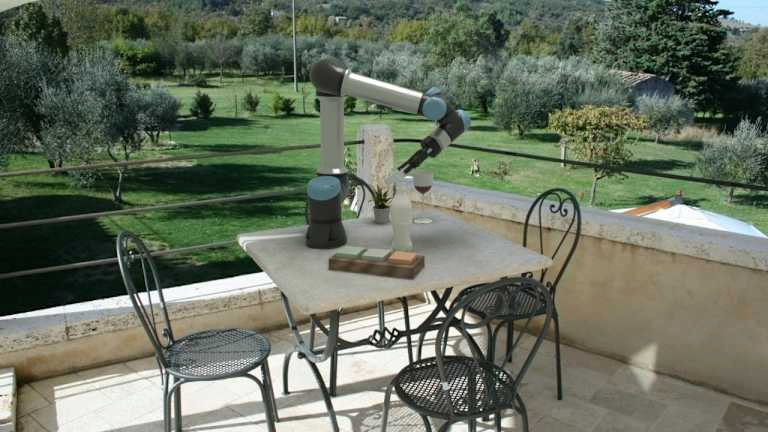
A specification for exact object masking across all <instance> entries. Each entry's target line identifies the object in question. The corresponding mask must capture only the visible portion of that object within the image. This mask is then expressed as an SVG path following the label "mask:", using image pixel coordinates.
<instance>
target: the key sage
mask: <svg viewBox="0 0 768 432" xmlns="http://www.w3.org/2000/svg"><path fill="white" fill-rule="evenodd" d="M365 250H366V248H365V247H361V246H350V245H343V247H342V248H339V250H337V251H336V252H335V254H336V257H338V258H347V259H356V260H357V259H358V258H360V257H361V256H362V255H363V254H364V253H365Z"/></svg>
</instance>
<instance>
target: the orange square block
mask: <svg viewBox="0 0 768 432" xmlns="http://www.w3.org/2000/svg"><path fill="white" fill-rule="evenodd" d="M418 255H419V253H417V252H412V251H411V252H401V251H396V252H395V253H394V254H392V255H391V256H390V257H389V263H393V264H403V265H412V264H413V263H414V262H415V261H416V260H417V259H418Z"/></svg>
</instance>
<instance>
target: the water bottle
mask: <svg viewBox="0 0 768 432" xmlns="http://www.w3.org/2000/svg"><path fill="white" fill-rule="evenodd" d="M395 190H396V192H395V194H394V196H393V197H392V200H391V202H390V216H391V220H390V223H391V226H392V229H393V240H392V242H391V246H390V247H391V252H392V253H395V252H396V251H401V252H411V253H412V250H413V243H412V240H411V234H410V232H411V227H412V224H413V217H412V216H413V214H412V213H413V210H412V209H413V203H412V200H411V198H410V197H409V195H408V193H407V183H406V180H401V181H398V180H396V186H395Z"/></svg>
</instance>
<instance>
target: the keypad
mask: <svg viewBox="0 0 768 432" xmlns="http://www.w3.org/2000/svg"><path fill="white" fill-rule="evenodd" d="M368 250H369V249H365V252H366V251H368ZM392 254H394V253H393V251H391V255H392ZM425 258H426V257H425V255H421V254H420V255H419V254H418V259H417V260H416V261H415V262H414V263H413V264H412V265H403V264H393V263H389V258H388V259H387V260H386V261H385V262H375V261H366V260H362V256H361V257H360V258H358V259H357V260H356V259H347V258H338V257H336V253H334V254H333V255H331V256H330V257H329V258H328V259H327V261H328V270H331V271H332V270H333V271H334V270H335V271H341V272H347V273H348V272H350V273H358V274H368V275H376V276H384V277H391V278H393V277H394V278H401V279H410V280H414V279H415V277H416V276H417V275H418V274H419V273H420V272H421V270H423V268H424V267H425V266H426V265H425V264H426V263H425Z"/></svg>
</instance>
